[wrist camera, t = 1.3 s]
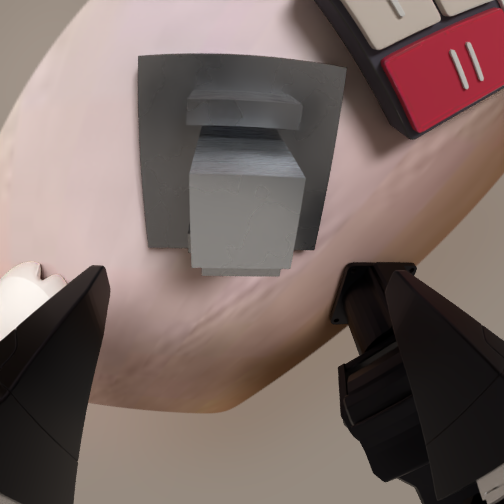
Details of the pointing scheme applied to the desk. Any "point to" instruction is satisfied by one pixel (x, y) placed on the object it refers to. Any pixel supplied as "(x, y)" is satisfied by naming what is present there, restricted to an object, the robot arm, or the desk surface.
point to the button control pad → (423, 54)
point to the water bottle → (24, 294)
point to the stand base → (231, 115)
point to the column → (243, 202)
